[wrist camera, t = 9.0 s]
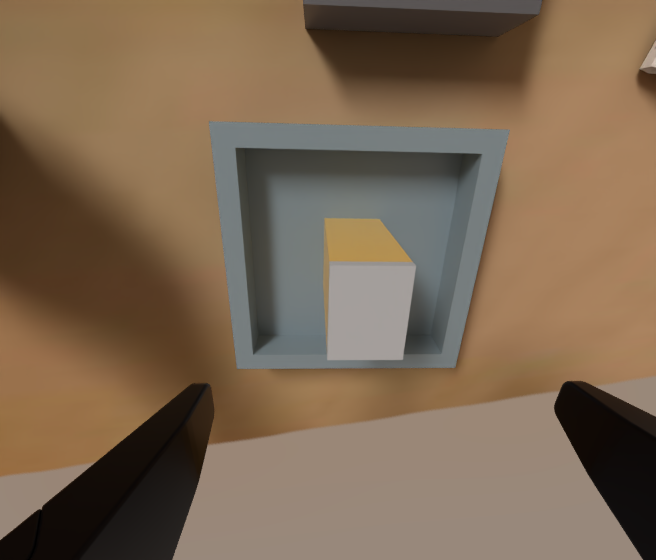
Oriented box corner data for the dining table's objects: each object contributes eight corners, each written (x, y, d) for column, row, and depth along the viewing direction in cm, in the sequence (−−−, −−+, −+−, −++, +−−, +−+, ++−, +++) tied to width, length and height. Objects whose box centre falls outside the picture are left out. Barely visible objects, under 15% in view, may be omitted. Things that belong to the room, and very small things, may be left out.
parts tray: (246, 341, 21) (237, 369, 19) (225, 123, 16) (209, 121, 14) (438, 340, 22) (455, 367, 19) (479, 130, 17) (510, 129, 14)
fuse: (323, 285, 19) (327, 360, 13) (324, 218, 17) (329, 265, 11) (373, 285, 19) (402, 360, 13) (379, 218, 18) (415, 266, 11)
